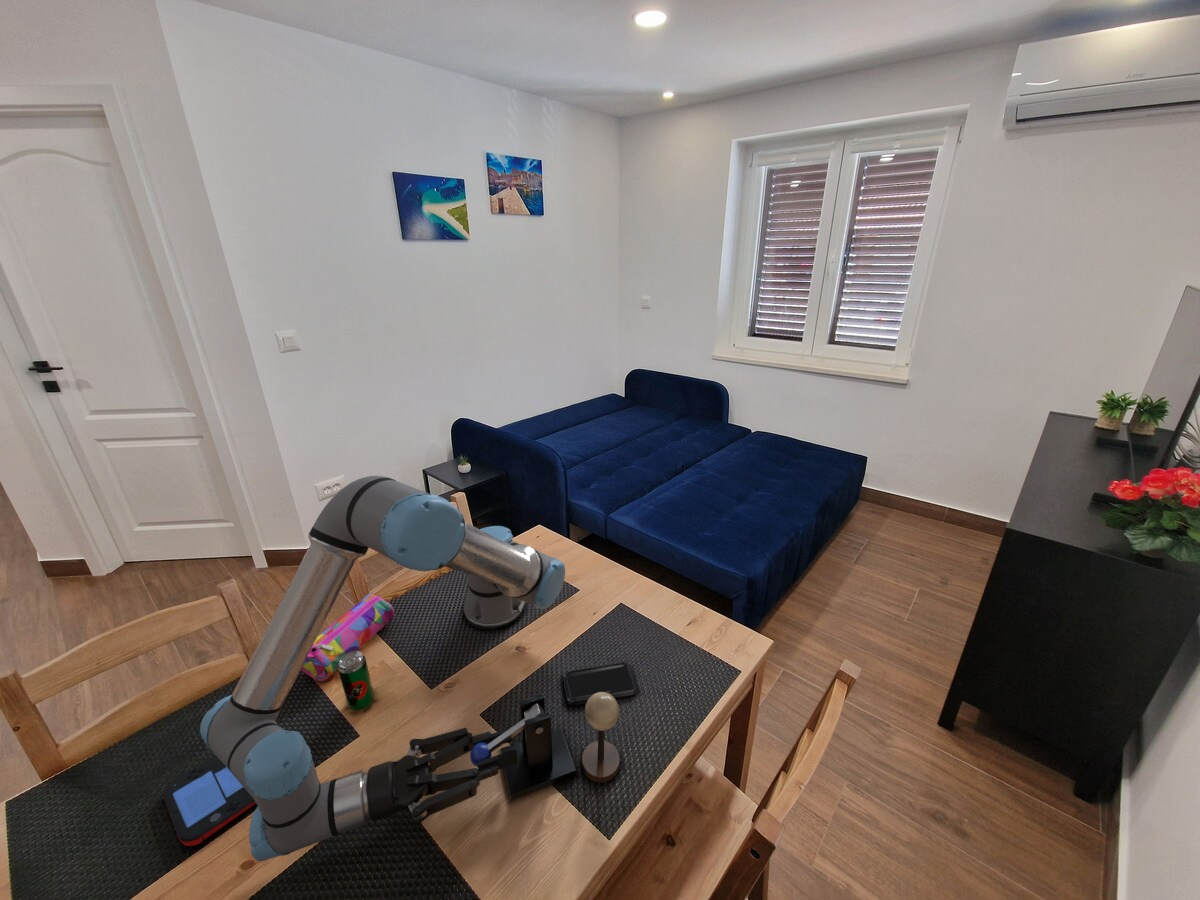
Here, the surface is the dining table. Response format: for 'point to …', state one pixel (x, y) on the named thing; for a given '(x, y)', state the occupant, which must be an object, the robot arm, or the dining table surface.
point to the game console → (205, 801)
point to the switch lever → (502, 737)
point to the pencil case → (347, 636)
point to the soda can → (356, 680)
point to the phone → (598, 682)
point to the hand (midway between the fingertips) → (513, 744)
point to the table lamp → (601, 738)
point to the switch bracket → (538, 754)
